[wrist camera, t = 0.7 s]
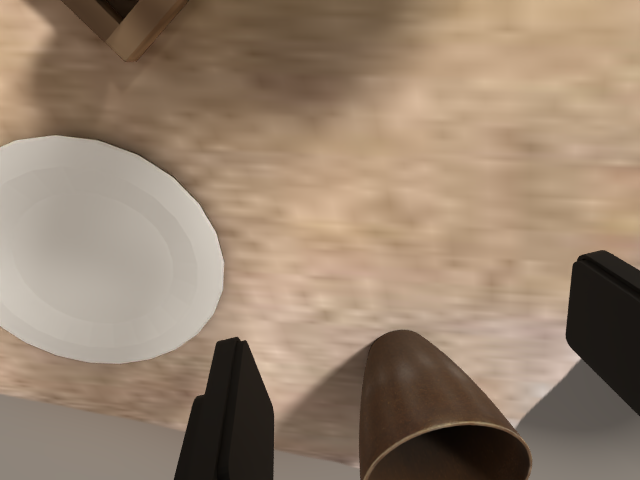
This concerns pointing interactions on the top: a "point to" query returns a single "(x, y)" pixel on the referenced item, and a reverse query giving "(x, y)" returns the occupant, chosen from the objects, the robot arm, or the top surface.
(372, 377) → the plant pot
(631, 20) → the top surface
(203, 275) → the plate
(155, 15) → the socket block
